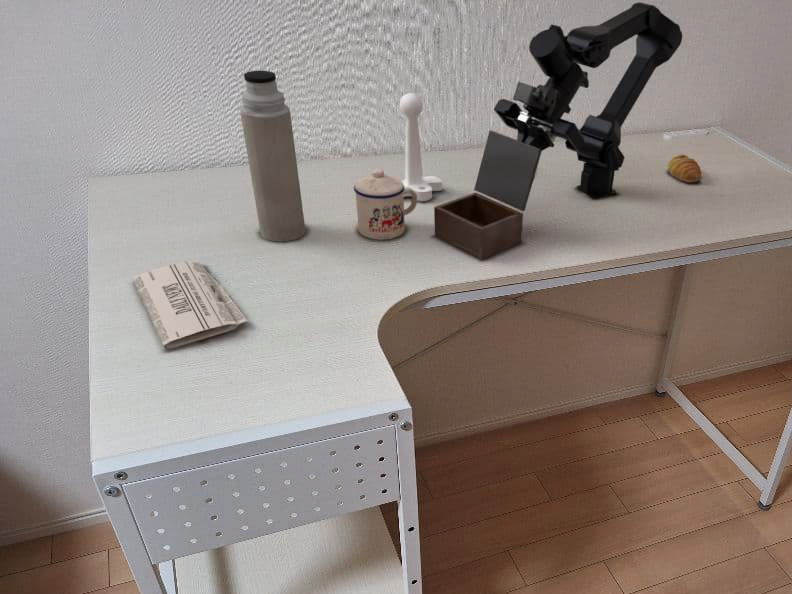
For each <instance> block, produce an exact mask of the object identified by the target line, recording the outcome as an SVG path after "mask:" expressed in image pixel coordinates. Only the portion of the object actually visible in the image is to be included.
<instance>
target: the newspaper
mask: <svg viewBox="0 0 792 594" xmlns="http://www.w3.org/2000/svg"><path fill="white" fill-rule="evenodd" d="M132 281H133V283H134V285H135V288H136V290H137V292H138V294H139V296H140V298H141V301H142V303H143V305H144V308H145V309H146V311H147V313H148V316H149V318H150V320H151V323H152V324H153V327H154V329H155V331H156V334H157V336H158V338H159V340H160V342H161V345H162V347H163V349H165V350H168V351H169V350H172V349H174V348H178V347H182V346H185V345H189V344H191V343H194V342H198V341H201V340H205V339H207V338H210V337H211V338H212V337H215V336H217V335H221V334H223V333H226V332H230V331H235V329H237V328H238V325H241V324H242V323H243V324H244V323H245V322H248V319H247V318H246V316H245V315H244V314H243V312H242V311H241V310H240V309H239V307H237V305H236V304H235V303H234V301H233V300H232V299H231V298H230V296H229V295H228V294H227V292H226V291H225V290H224V289H223V288H222V287H221V285H220V284H219V283H218V282H217V281H216V280H215V279H214V278H213V277H212V275H211V274H210V273H209V272H208V271H207V270H206V269H205V267H204V266H202V263H201V262H200V261H197V260H193V259H190V260H186V261H181V262H176V263H172V264H168V265H164V266H161V267H158V268H154V269H151V270H147V271H145V272H141V273H138V274H136V275H134V276H133V277H132Z"/></svg>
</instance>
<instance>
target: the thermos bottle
mask: <svg viewBox="0 0 792 594" xmlns="http://www.w3.org/2000/svg"><path fill="white" fill-rule="evenodd" d="M243 78H244V80H245V88H246V91H244V92H243V93H242V95H241V96H242V97H241V98H242V100H241V103H242V106H241V107H240V109H239V113H240V118H241V119H240V120H241V126H242V130H243V137H244V142H245V148H246V154H247V160H248V166H249V172H250V178H251V184H252V190H253V191H252V192H253V197H254V203H255V207H256V208H255V209H256V213H257V219H258V225H259V232H260V236H261V237H262V238H263V239H266V240H268V241H272V242H289V241H295V240H297V239H300V238H301V237H303V236H304V235H305V233H306V223H305V215H304V211H303V210H304V209H303V200H302V193H301V184H300V178H299V170H298V169H299V168H298V161H297V155H296V146H295V139H294V131H293V122H292V115H291V109H290V107H289V105H287V104H286V103H285V102H286V98H285V96H284V93H283V92H281V91H280V90H278V84H277V81H276V79H277V75H276V73H275V72H273V71H269V70H250V71H246V72H245V73H244V74H243Z"/></svg>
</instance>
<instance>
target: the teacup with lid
mask: <svg viewBox="0 0 792 594" xmlns="http://www.w3.org/2000/svg"><path fill="white" fill-rule="evenodd" d="M353 191H354V192H355V202H356V215H357V216H356V217H357V227H358V232H359V233H360V235H362V236H363V237H365V238H368V239H371V240H380V241H383V240H392V239H395V238H397V237H400V236H401V235H402V234H404V232H405V231H406V230H405V229H406V226H405V225H406V223H405V216H407V215H409V214H411V213H413V211H414V210H415V209H416V207H417V204H418V201H417V194H416V192H415V191H414V190H412V189H410V188H404V185H403V183H402V181H401V179H399V178H398V177H395V176H393V175H388V174H386V173H385V171H384V170H383V169H381V168H375V169H373V170H372V173H371V174H369V175H365V176H362V177H360V178H358V179H357V180H355V182H354V185H353ZM405 193H411V194H412V196H411V198H412V199H411V203H410V204H409V206H408V207H407V208H405V201H404V200H405V199H404V198H405V197H403V194H405Z"/></svg>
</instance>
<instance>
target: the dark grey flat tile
mask: <svg viewBox="0 0 792 594" xmlns="http://www.w3.org/2000/svg"><path fill="white" fill-rule="evenodd" d="M542 152H543V151H542V149H539V148H537V147H534V146H531V145H529V144H526V143H523V142H521V141H518V140H517V139H515V138H513V137H510V136H507V135H505V134H502V133H500V132H497V131H494V130H491V129H490V130H489V131H488V134H487V139H486V143H485V147H484V150H483V154H482V158H481V160H480V166H479V169H478V173H477V176H476V181H475V185H474V188H473V190H474V191H475V192H477V193H480V194H481V195H482V194H483V195H484V196H487V197H488V198H491V199H493V200H495V201H496V200H497V202H500V203H502V204H505V205H506V206H507V205H508V206H509V207H511V208H513V209H517V210H519V211H520V212H525V211H526V208H527V204H528V201H529V197H530V194H531V190H532V187H533V183H534V180H535V177H536V172H537V169H538V166H539V162H540V159H541V155H542Z"/></svg>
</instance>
